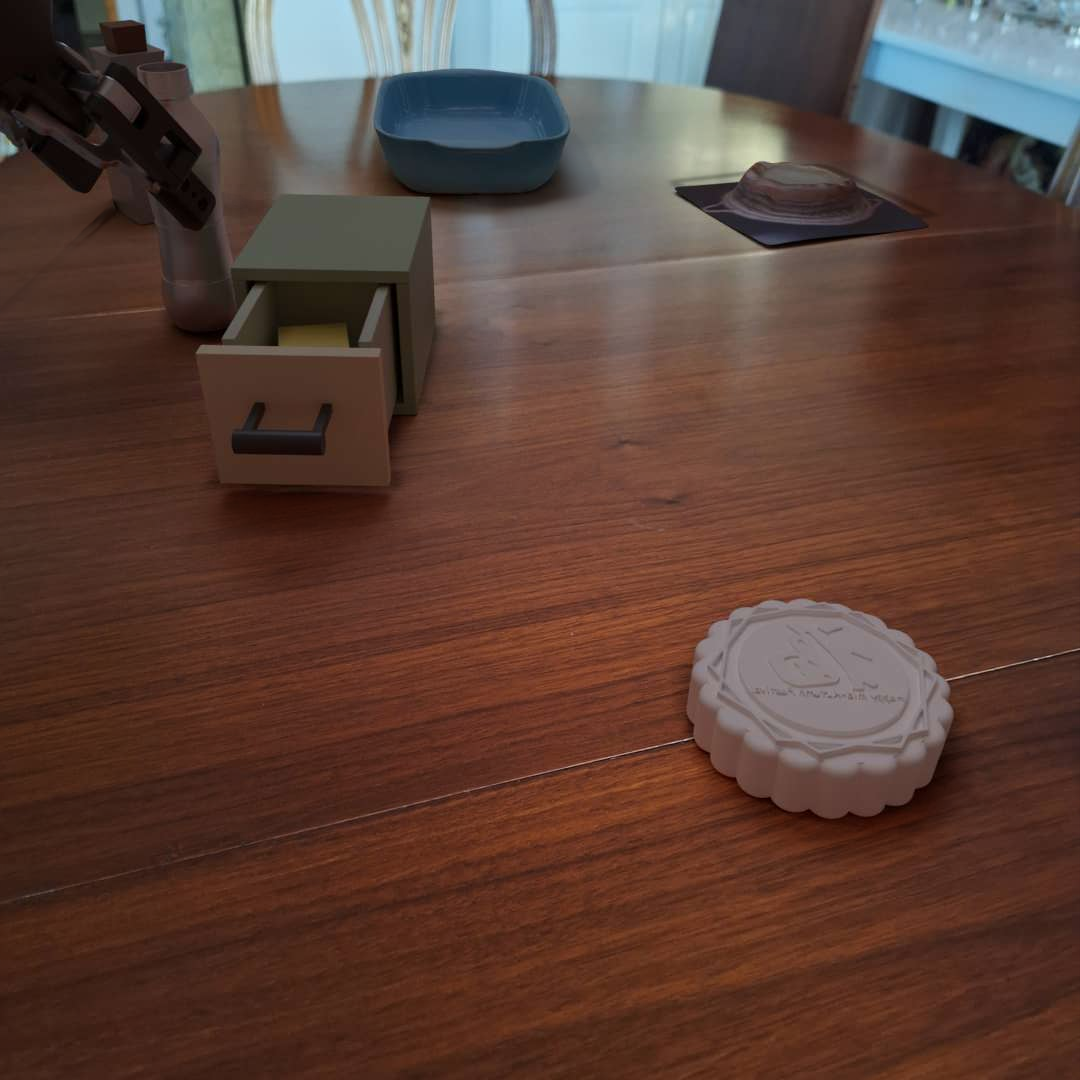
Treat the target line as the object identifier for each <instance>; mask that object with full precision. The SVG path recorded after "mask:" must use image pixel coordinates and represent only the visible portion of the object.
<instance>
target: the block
mask: <svg viewBox="0 0 1080 1080" xmlns="http://www.w3.org/2000/svg"><path fill="white" fill-rule="evenodd" d="M278 346H285V347H337V348H350V347H349V340H348V333H347V326H346V323H332V324H317V325H302V326H287V327H278Z"/></svg>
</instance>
